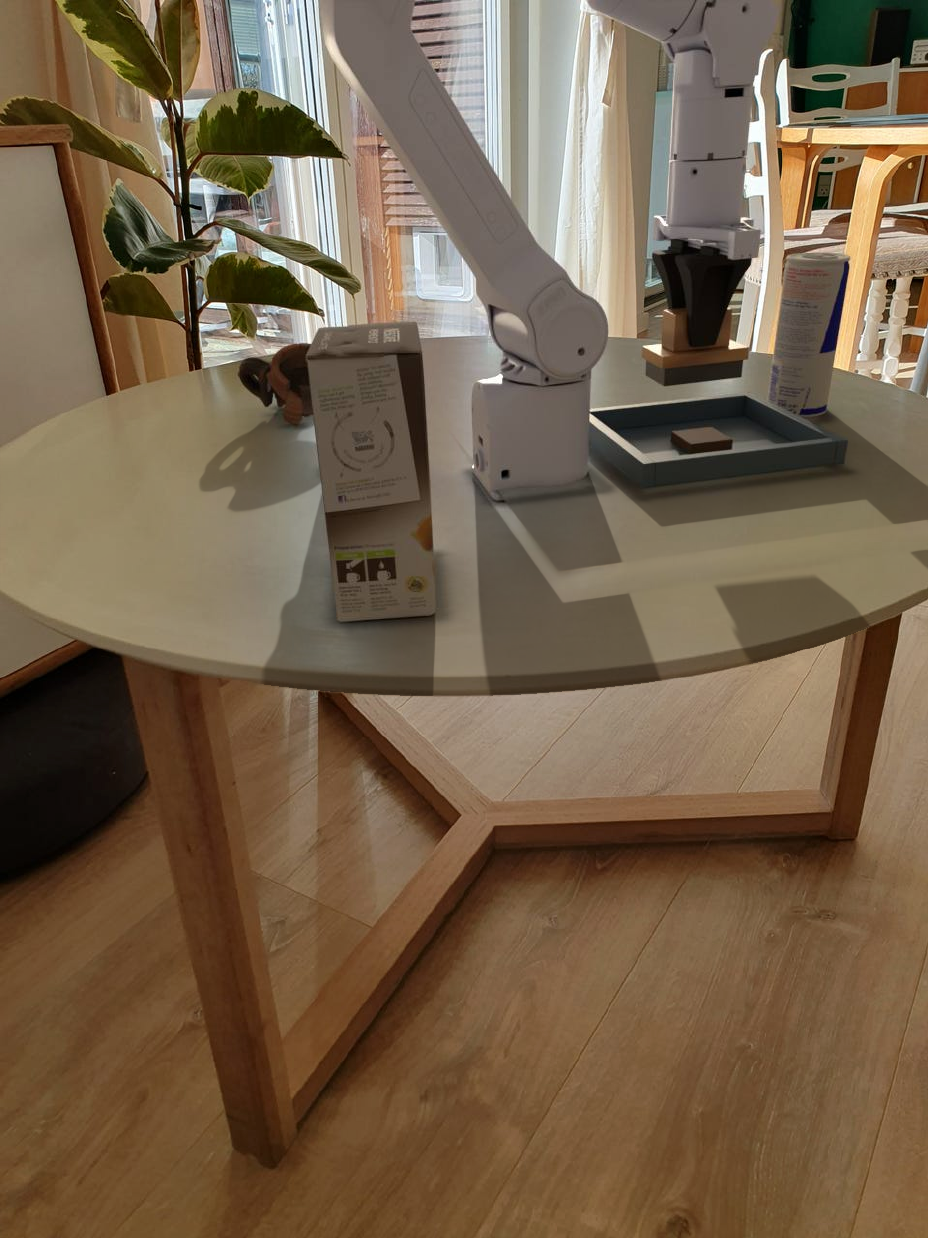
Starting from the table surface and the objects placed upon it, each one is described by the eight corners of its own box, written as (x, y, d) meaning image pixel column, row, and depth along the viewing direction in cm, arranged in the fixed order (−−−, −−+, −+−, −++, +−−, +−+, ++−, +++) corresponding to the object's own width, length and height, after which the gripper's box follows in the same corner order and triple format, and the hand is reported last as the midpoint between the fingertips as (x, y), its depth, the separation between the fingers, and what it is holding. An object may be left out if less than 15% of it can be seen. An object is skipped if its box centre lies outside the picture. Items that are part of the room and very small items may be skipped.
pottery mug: (353, 402, 100) (359, 345, 93) (335, 462, 95) (339, 406, 88) (248, 377, 99) (246, 318, 92) (224, 436, 94) (220, 378, 87)
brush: (661, 387, 72) (665, 318, 70) (640, 375, 76) (643, 309, 73) (746, 377, 74) (753, 309, 71) (721, 365, 77) (727, 300, 75)
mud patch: (689, 455, 76) (690, 444, 75) (670, 441, 79) (670, 430, 79) (732, 450, 77) (733, 439, 76) (710, 437, 80) (711, 426, 80)
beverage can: (829, 425, 84) (857, 258, 77) (768, 423, 86) (790, 259, 78) (820, 408, 89) (846, 250, 82) (763, 407, 90) (783, 251, 83)
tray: (641, 497, 70) (643, 463, 69) (574, 439, 84) (574, 410, 82) (843, 472, 73) (849, 439, 72) (746, 419, 87) (750, 391, 86)
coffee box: (440, 617, 54) (424, 350, 46) (335, 624, 54) (302, 357, 46) (432, 554, 62) (418, 318, 54) (341, 560, 62) (314, 324, 54)
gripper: (808, 157, 61) (783, 354, 68) (712, 153, 74) (699, 321, 80) (714, 164, 60) (699, 364, 67) (633, 159, 72) (627, 328, 79)
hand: (694, 341), depth 73 cm, fingers closed on brush, 2 cm apart
